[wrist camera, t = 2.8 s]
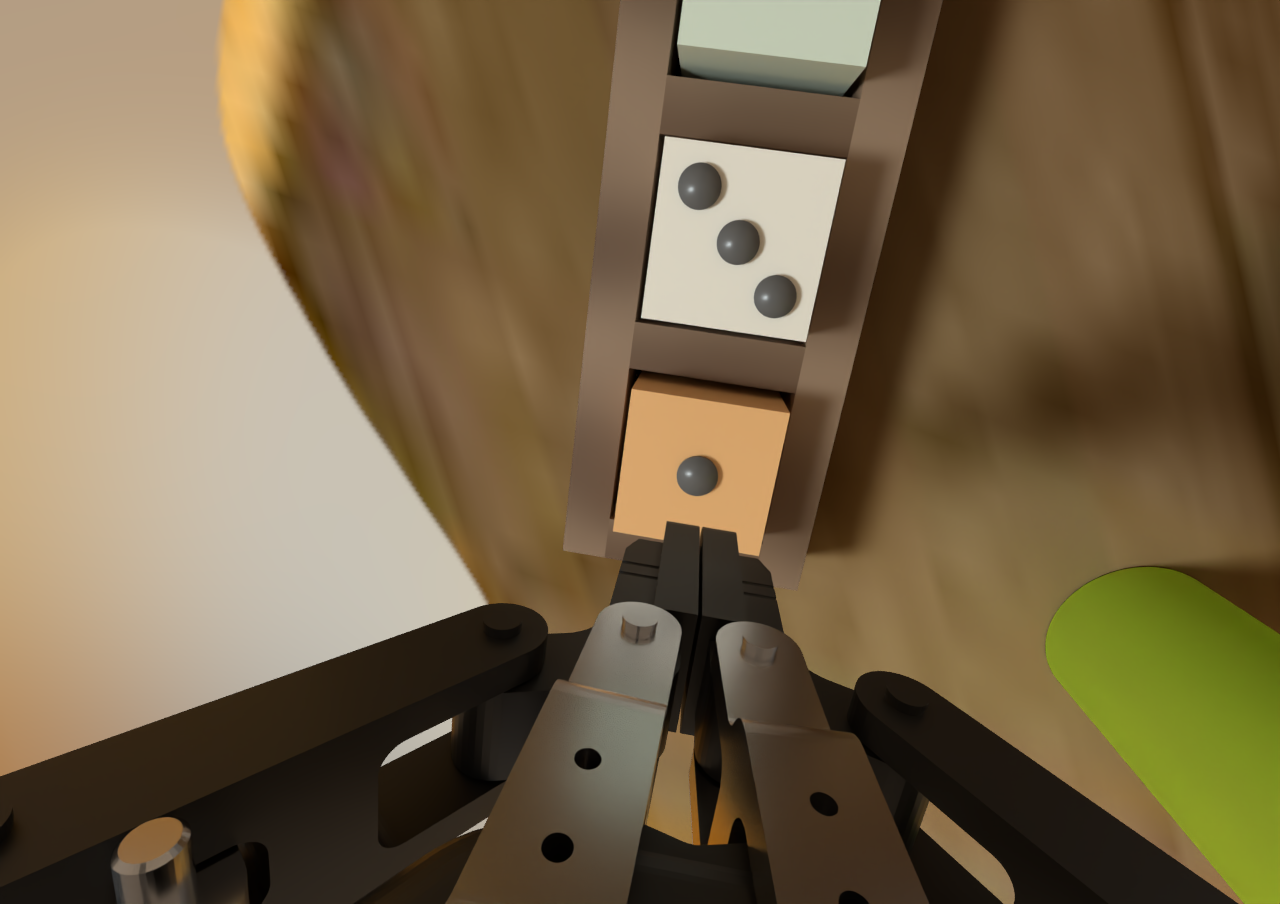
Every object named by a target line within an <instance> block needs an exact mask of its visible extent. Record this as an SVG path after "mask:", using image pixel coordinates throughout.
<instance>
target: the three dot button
mask: <svg viewBox="0 0 1280 904" xmlns="http://www.w3.org/2000/svg"><path fill="white" fill-rule="evenodd" d="M845 161H846V160H845V159H837V158H830V157H822V156H814V155H806V154H799V153H791V152H783V151H776V150H768V149H760V148H752V147H745V146H737V145H729V144H721V143H714V142H706V141H698V140H691V139H683V138H675V137H667V136H665V140H664V148H663V155H662V163H661V170H660V178H659V186H658V193H657V201H656V208H655V216H654V223H653V231H652V239H651V246H650V254H649V261H648V269H647V276H646V284H645V292H644V299H643V307H642V314H641V318H646V319H653V320H660V321H667V322H673V323H680V324H687V325H694V326H700V327H707V328H714V329H721V330H727V331H734V332H741V333H748V334H755V335H761V336H768V337H775V338H782V339H788V340H795V341H802V342H806V339H807V334H808V330H809V325H810V321H811V316H812V311H813V307H814V302H815V298H816V293H817V289H818V284H819V279H820V275H821V270H822V266H823V261H824V257H825V252H826V248H827V243H828V238H829V234H830V229H831V225H832V220H833V216H834V211H835V206H836V202H837V197H838V193H839V188H840V184H841V179H842V175H843V170H844V165H845Z"/></svg>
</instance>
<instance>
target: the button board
mask: <svg viewBox="0 0 1280 904" xmlns="http://www.w3.org/2000/svg"><path fill="white" fill-rule="evenodd" d="M942 2H943V0H881V1H880V6H879V10H878V15H877V19H876V24H875V29H874V33H873V38H872V42H871V47H870V51H869V56H868V61H867V65H866V68H865V69H864V70H863V71H862V73H861V74H860V75H859V76H858V77H857V79H856V80H855V81H854V82H853V84H852V85H851V86H850V87H849V88H848V90H847V91H846V96H845V97H840V96H832V95H824V94H816V93H808V92H800V91H792V90H784V89H775V88H767V87H759V86H751V85H743V84H735V83H727V82H719V81H711V80H703V79H694V78H686V77H678V76H675V74H676V66H677V59H678V46H677V42H678V34H679V27H680V19H681V12H682V4H683V0H620V9H619V18H618V28H617V37H616V47H615V57H614V66H613V76H612V85H611V95H610V104H609V114H608V124H607V133H606V143H605V152H604V162H603V171H602V181H601V190H600V200H599V210H598V219H597V229H596V238H595V248H594V257H593V267H592V277H591V286H590V296H589V305H588V315H587V324H586V334H585V343H584V353H583V363H582V372H581V382H580V391H579V401H578V410H577V420H576V430H575V439H574V449H573V458H572V468H571V477H570V487H569V496H568V506H567V516H566V525H565V535H564V544H563V550H564V551H570V552H576V553H582V554H587V555H593V556H599V557H605V558H611V559H616V560H622V561H623V557H624V553H625V550H626V547H628V546H629V545H631V544H632V543H633V542H635V541H636V540H638V539H644V540H650V541H656V542H662V543H663V541H664V540H661V539H655V538H649V537H643V536H637V535H631V534H625V533H619V532H613V526H614V519H615V511H616V503H617V496H618V488H619V481H620V473H621V466H622V458H623V451H624V443H625V435H626V428H627V420H628V413H629V405H630V398H631V390H632V387H633V386H634V382H635V374H636V369H639V370H645V371H652V372H659V373H665V374H672V375H678V376H685V377H691V378H698V379H704V380H711V381H717V382H724V383H730V384H737V385H743V386H750V387H757V388H763V389H770V390H776V391H783V392H782V397H781V398H782V399H783V401H784V403H785V405H786V407H787V409H788V410H789V412H790V416H789V421H788V425H787V430H786V435H785V439H784V444H783V448H782V453H781V457H780V462H779V467H778V471H777V476H776V480H775V485H774V489H773V494H772V498H771V503H770V508H769V512H768V517H767V521H766V526H765V530H764V535H763V540H762V544H761V549H760V553H759V556H755V555H749V554H743V553H739V556H745V557H751V558H757V559H759V560H760V561H761V562H762V563H763V565H764V566H765V567H766V568H767V569H768V570H769V571H770V572H771V576H772V581H773V587H779V588H785V589H790V590H796V591H797V590H798V586H799V582H800V578H801V574H802V570H803V566H804V562H805V557H806V553H807V549H808V545H809V541H810V537H811V533H812V529H813V525H814V521H815V517H816V513H817V509H818V505H819V501H820V497H821V493H822V489H823V484H824V480H825V476H826V472H827V468H828V464H829V460H830V456H831V452H832V448H833V444H834V440H835V436H836V432H837V428H838V424H839V420H840V416H841V411H842V407H843V403H844V399H845V395H846V391H847V387H848V383H849V379H850V375H851V371H852V367H853V363H854V359H855V355H856V351H857V347H858V343H859V338H860V334H861V330H862V326H863V322H864V318H865V314H866V310H867V306H868V302H869V298H870V294H871V290H872V286H873V282H874V278H875V274H876V270H877V265H878V261H879V257H880V253H881V249H882V245H883V241H884V237H885V233H886V229H887V225H888V221H889V217H890V213H891V209H892V205H893V201H894V197H895V192H896V188H897V184H898V180H899V176H900V172H901V168H902V164H903V160H904V156H905V152H906V148H907V144H908V140H909V136H910V132H911V128H912V124H913V119H914V115H915V111H916V107H917V103H918V99H919V95H920V91H921V87H922V83H923V79H924V75H925V71H926V67H927V63H928V59H929V55H930V51H931V46H932V42H933V38H934V34H935V30H936V26H937V22H938V18H939V14H940V10H941V6H942ZM665 136H667V137H675V138H683V139H691V140H698V141H706V142H714V143H721V144H729V145H737V146H745V147H752V148H760V149H768V150H776V151H783V152H791V153H799V154H806V155H814V156H822V157H830V158H837V159H845V160H846V161H845V165H844V170H843V175H842V179H841V184H840V188H839V193H838V197H837V202H836V206H835V211H834V216H833V220H832V225H831V229H830V234H829V238H828V243H827V248H826V252H825V257H824V261H823V266H822V270H821V275H820V279H819V284H818V289H817V293H816V298H815V302H814V307H813V311H812V316H811V321H810V325H809V330H808V334H807V339H806V342H802V341H795V340H788V339H782V338H775V337H768V336H761V335H755V334H748V333H741V332H734V331H727V330H721V329H714V328H707V327H700V326H694V325H687V324H680V323H673V322H667V321H660V320H653V319H646V318H641V314H642V307H643V299H644V292H645V284H646V276H647V269H648V261H649V254H650V246H651V239H652V231H653V223H654V216H655V208H656V201H657V193H658V186H659V178H660V170H661V163H662V155H663V148H664V140H665Z"/></svg>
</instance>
